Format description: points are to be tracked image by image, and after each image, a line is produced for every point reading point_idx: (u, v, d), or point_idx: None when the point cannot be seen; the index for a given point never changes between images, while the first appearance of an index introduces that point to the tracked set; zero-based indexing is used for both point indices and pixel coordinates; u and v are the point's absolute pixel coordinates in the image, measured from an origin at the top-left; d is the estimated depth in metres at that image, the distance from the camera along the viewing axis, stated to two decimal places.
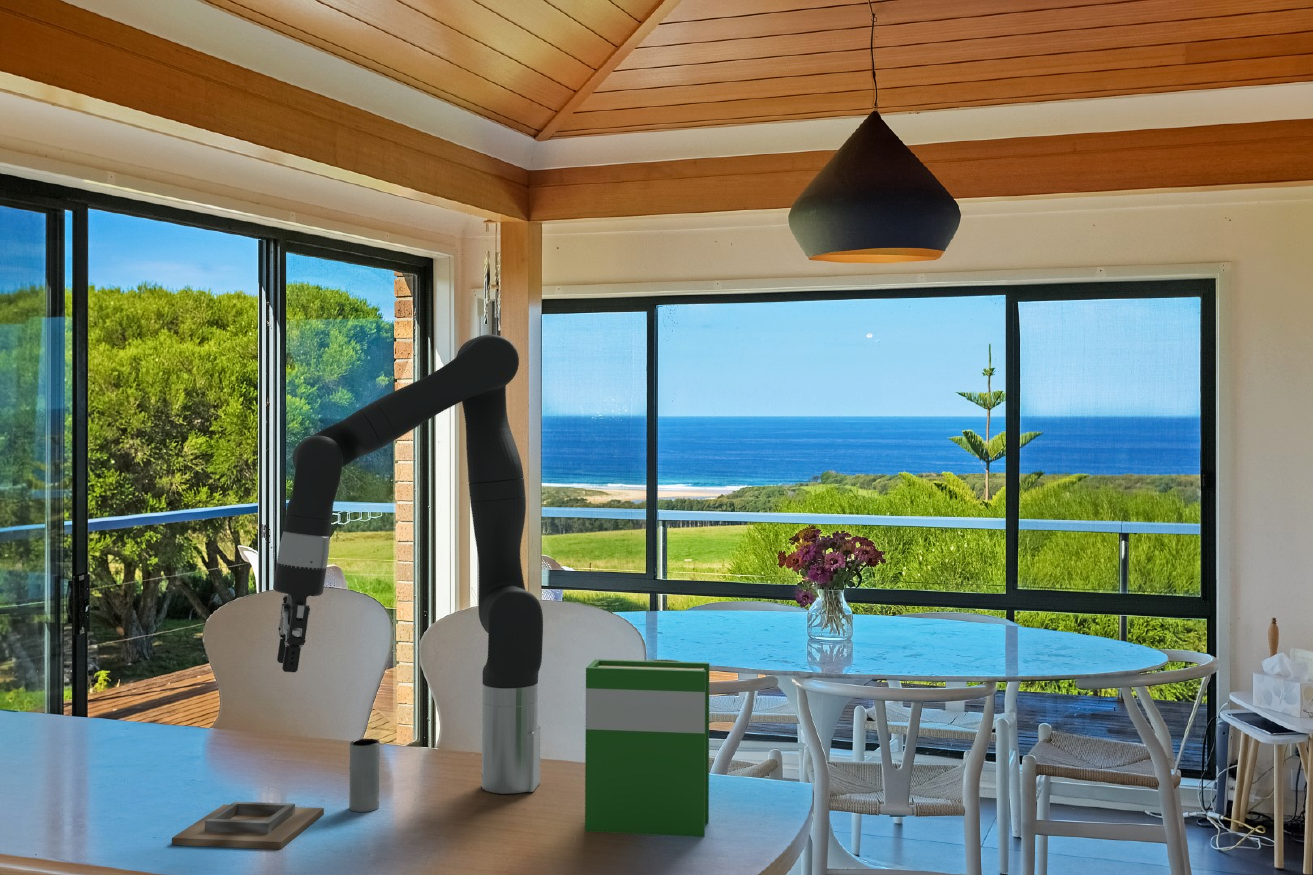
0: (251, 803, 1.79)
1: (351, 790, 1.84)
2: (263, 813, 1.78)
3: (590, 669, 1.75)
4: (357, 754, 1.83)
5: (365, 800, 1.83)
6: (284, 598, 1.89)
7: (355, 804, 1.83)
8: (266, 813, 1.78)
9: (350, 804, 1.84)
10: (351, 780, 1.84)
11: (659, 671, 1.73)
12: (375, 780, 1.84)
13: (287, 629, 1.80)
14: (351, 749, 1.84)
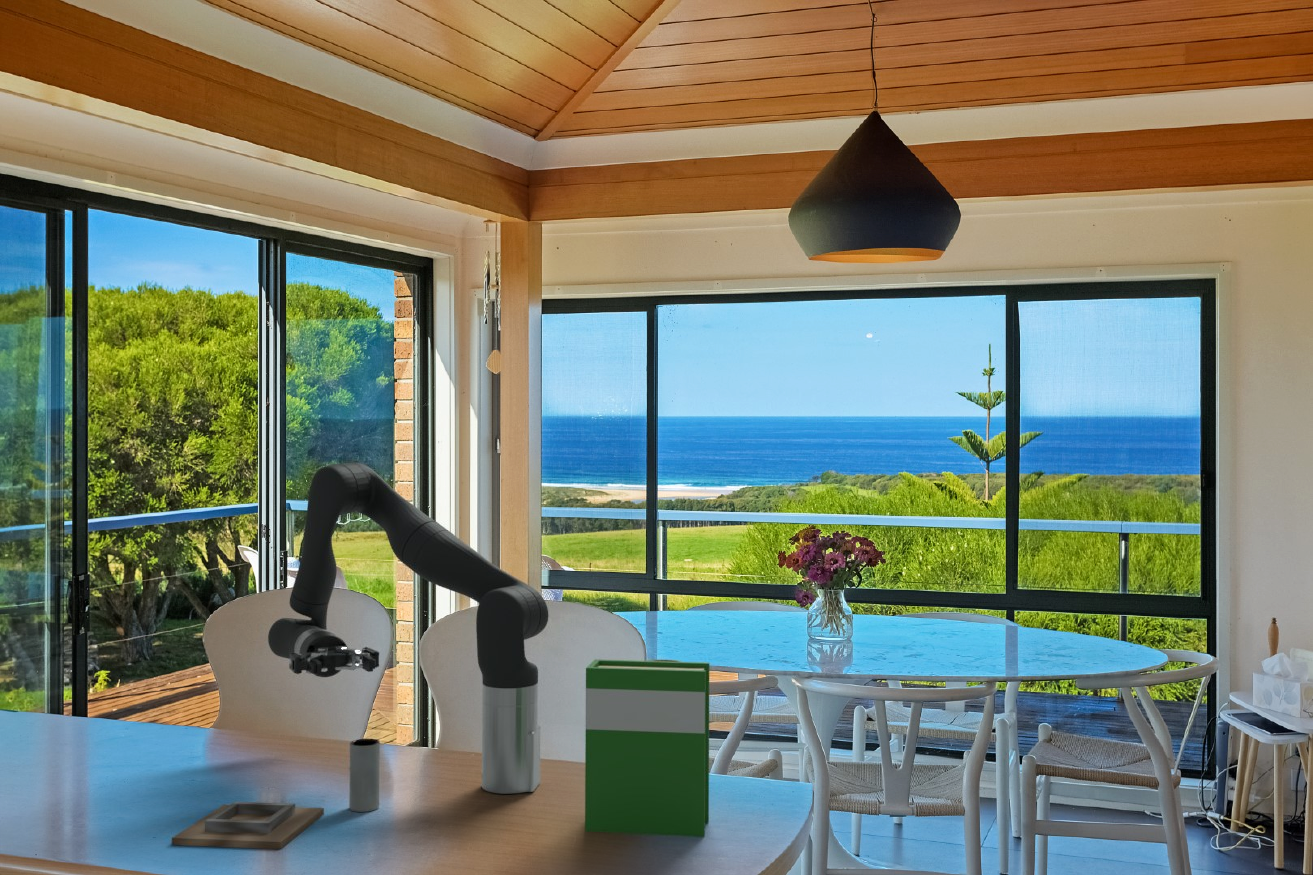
0: (251, 803, 1.79)
1: (351, 790, 1.84)
2: (263, 813, 1.78)
3: (590, 669, 1.75)
4: (357, 754, 1.83)
5: (365, 800, 1.83)
6: None
7: (355, 804, 1.83)
8: (266, 813, 1.78)
9: (350, 804, 1.84)
10: (351, 780, 1.84)
11: (659, 671, 1.73)
12: (375, 780, 1.84)
13: None
14: (351, 749, 1.84)
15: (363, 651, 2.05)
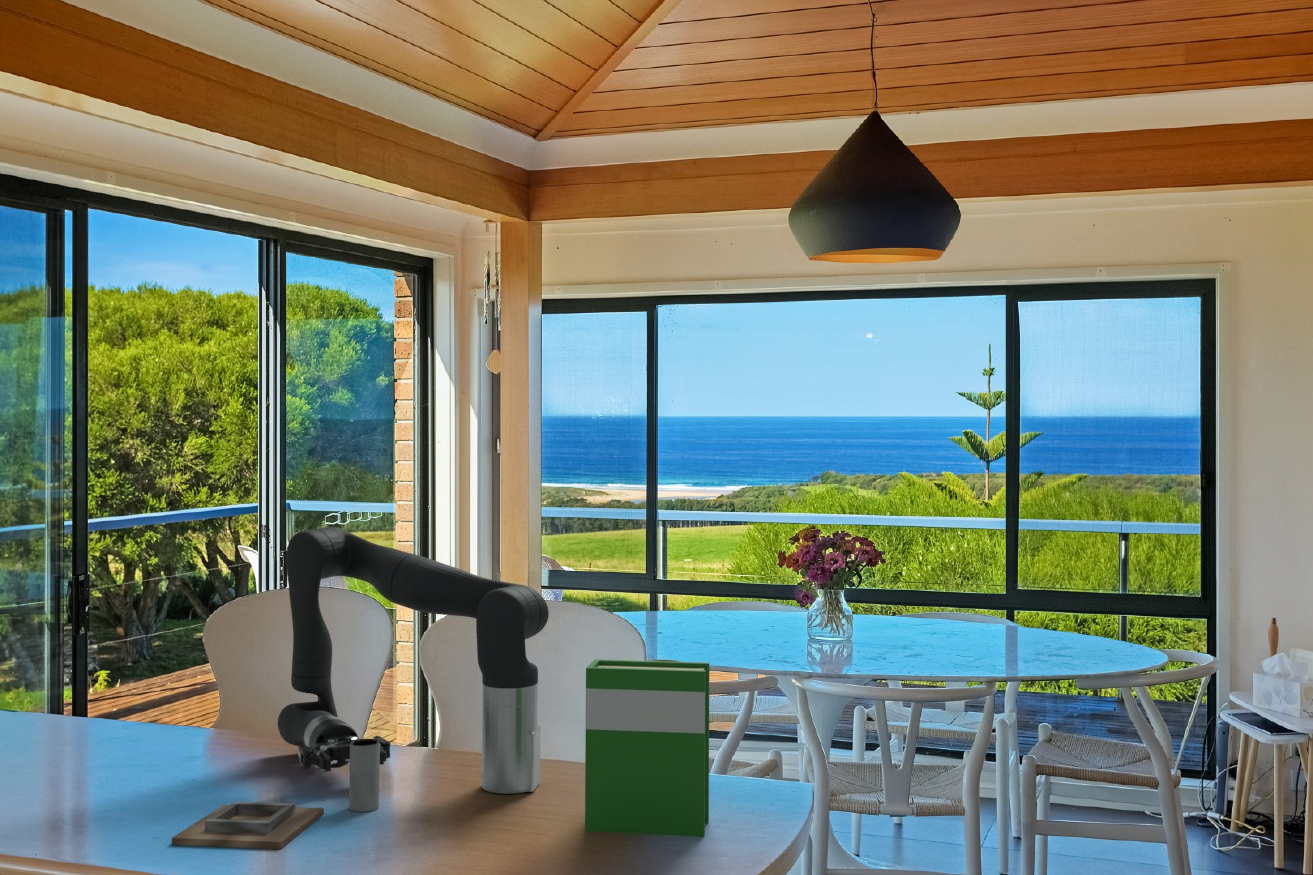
0: (251, 803, 1.79)
1: (351, 790, 1.84)
2: (263, 813, 1.78)
3: (590, 669, 1.75)
4: (357, 754, 1.83)
5: (365, 800, 1.83)
6: None
7: (355, 804, 1.83)
8: (266, 813, 1.78)
9: (350, 804, 1.84)
10: (351, 780, 1.84)
11: (659, 671, 1.73)
12: (375, 780, 1.84)
13: None
14: (351, 749, 1.84)
15: None
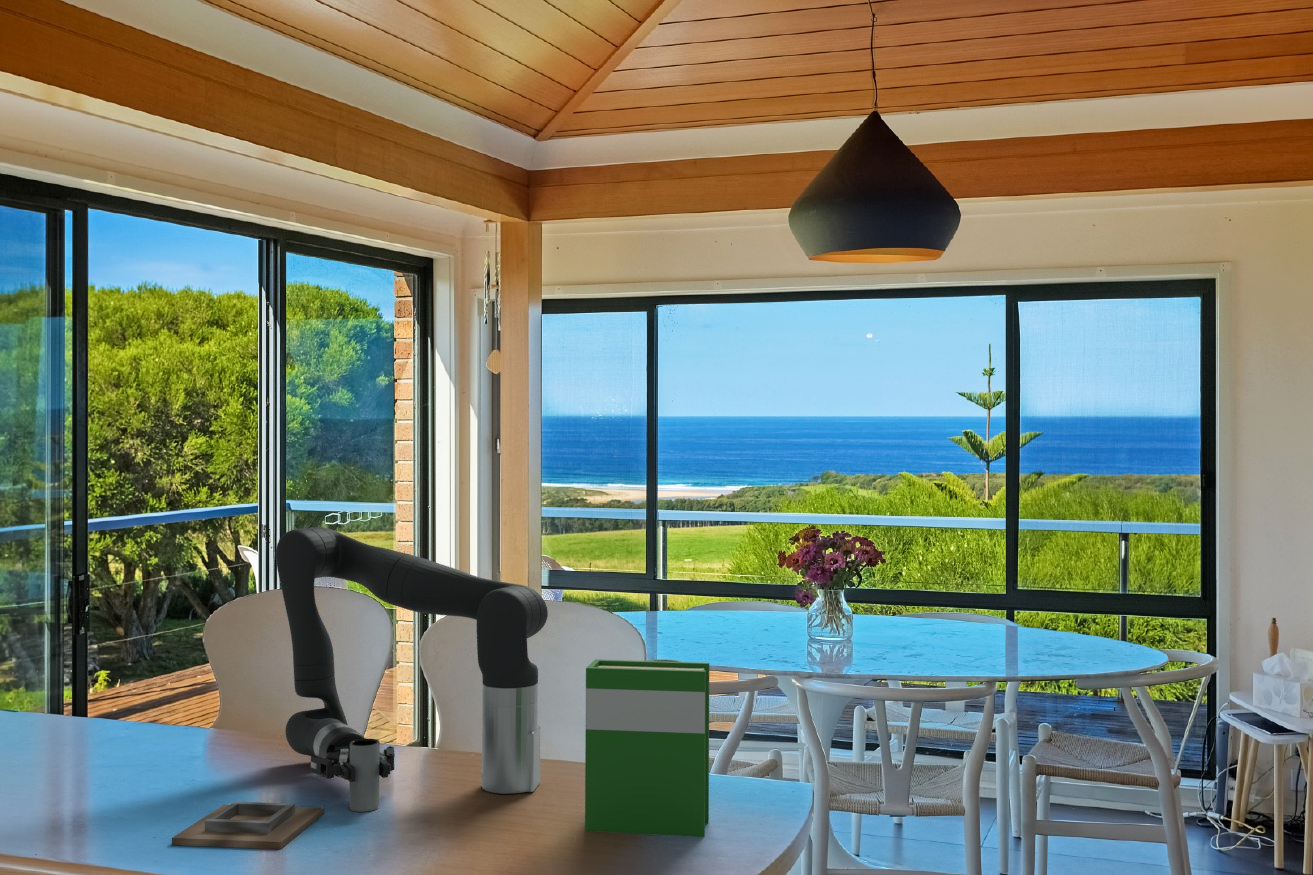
0: (251, 803, 1.79)
1: (351, 790, 1.84)
2: (263, 813, 1.78)
3: (590, 669, 1.75)
4: (357, 754, 1.83)
5: (365, 800, 1.83)
6: None
7: (355, 804, 1.83)
8: (266, 813, 1.78)
9: (350, 804, 1.84)
10: None
11: (659, 671, 1.73)
12: (375, 780, 1.84)
13: None
14: (351, 749, 1.84)
15: (384, 751, 1.93)
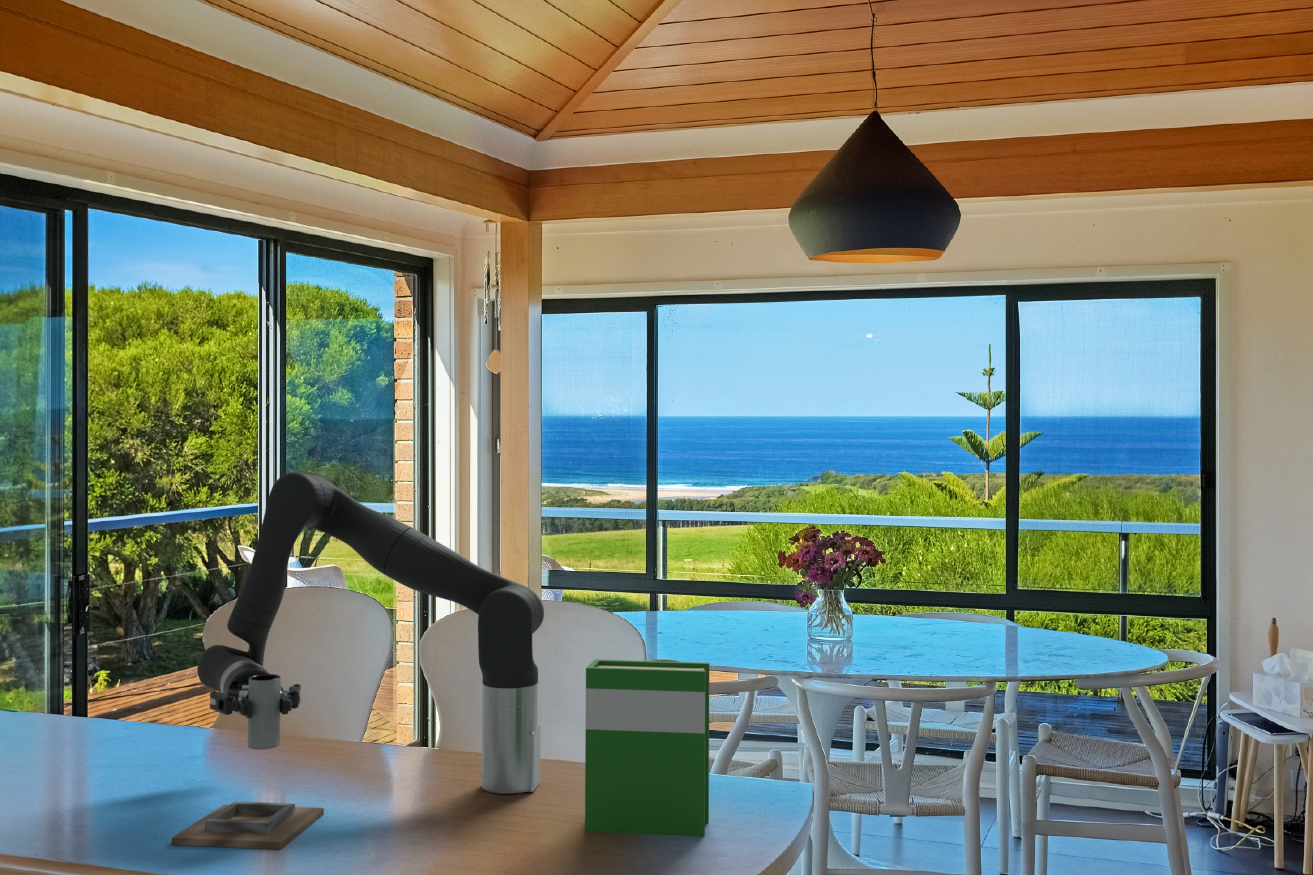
0: (251, 803, 1.79)
1: (249, 727, 1.75)
2: (263, 813, 1.78)
3: (590, 669, 1.75)
4: (255, 689, 1.74)
5: (263, 737, 1.74)
6: None
7: (253, 741, 1.75)
8: (266, 813, 1.78)
9: (248, 741, 1.75)
10: None
11: (659, 671, 1.73)
12: (274, 717, 1.75)
13: None
14: (249, 684, 1.75)
15: (290, 689, 1.84)
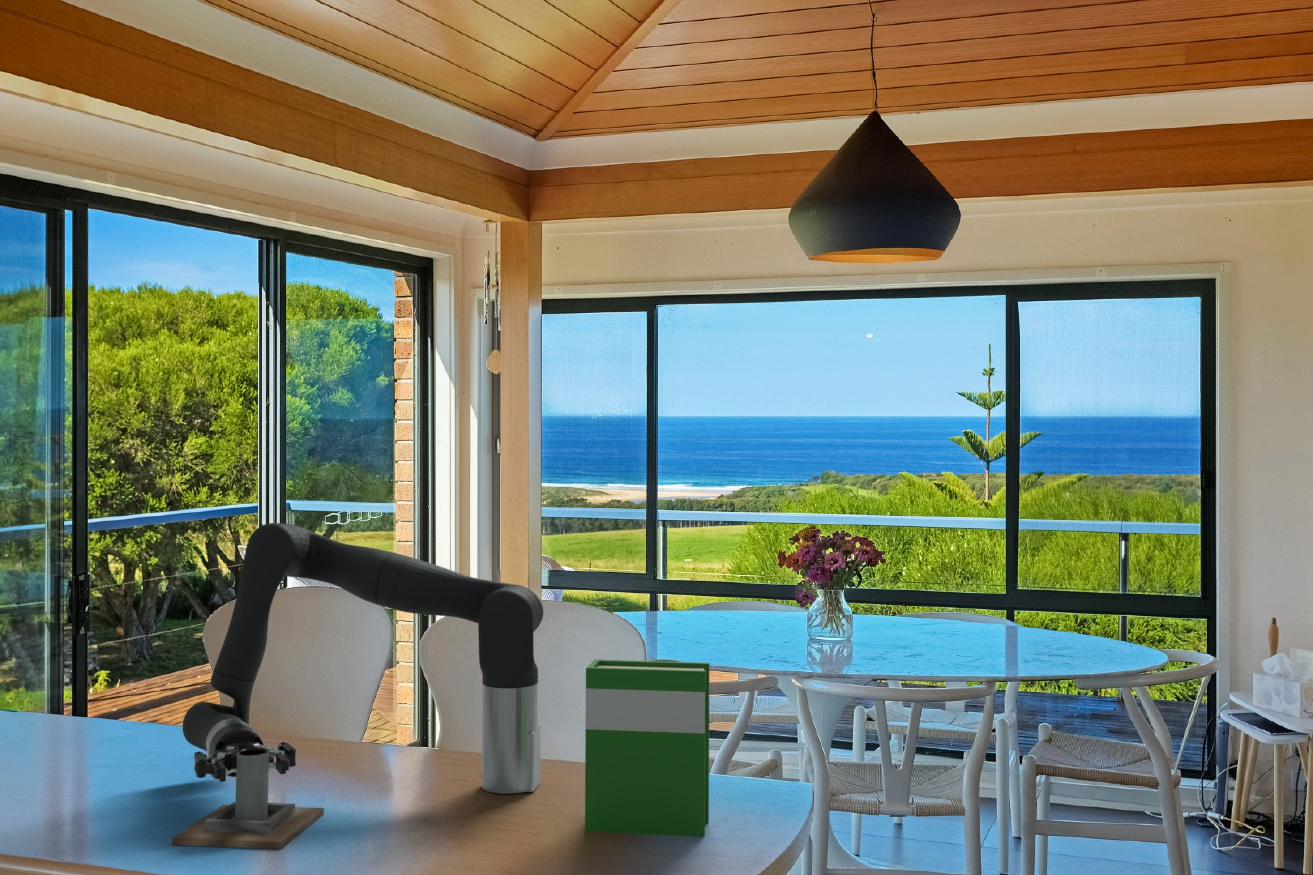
0: None
1: (236, 802, 1.73)
2: None
3: (590, 669, 1.75)
4: (243, 764, 1.73)
5: (250, 813, 1.73)
6: None
7: (240, 817, 1.73)
8: None
9: (235, 817, 1.74)
10: (237, 792, 1.73)
11: (659, 671, 1.73)
12: (262, 792, 1.74)
13: None
14: (237, 759, 1.74)
15: (279, 747, 1.83)
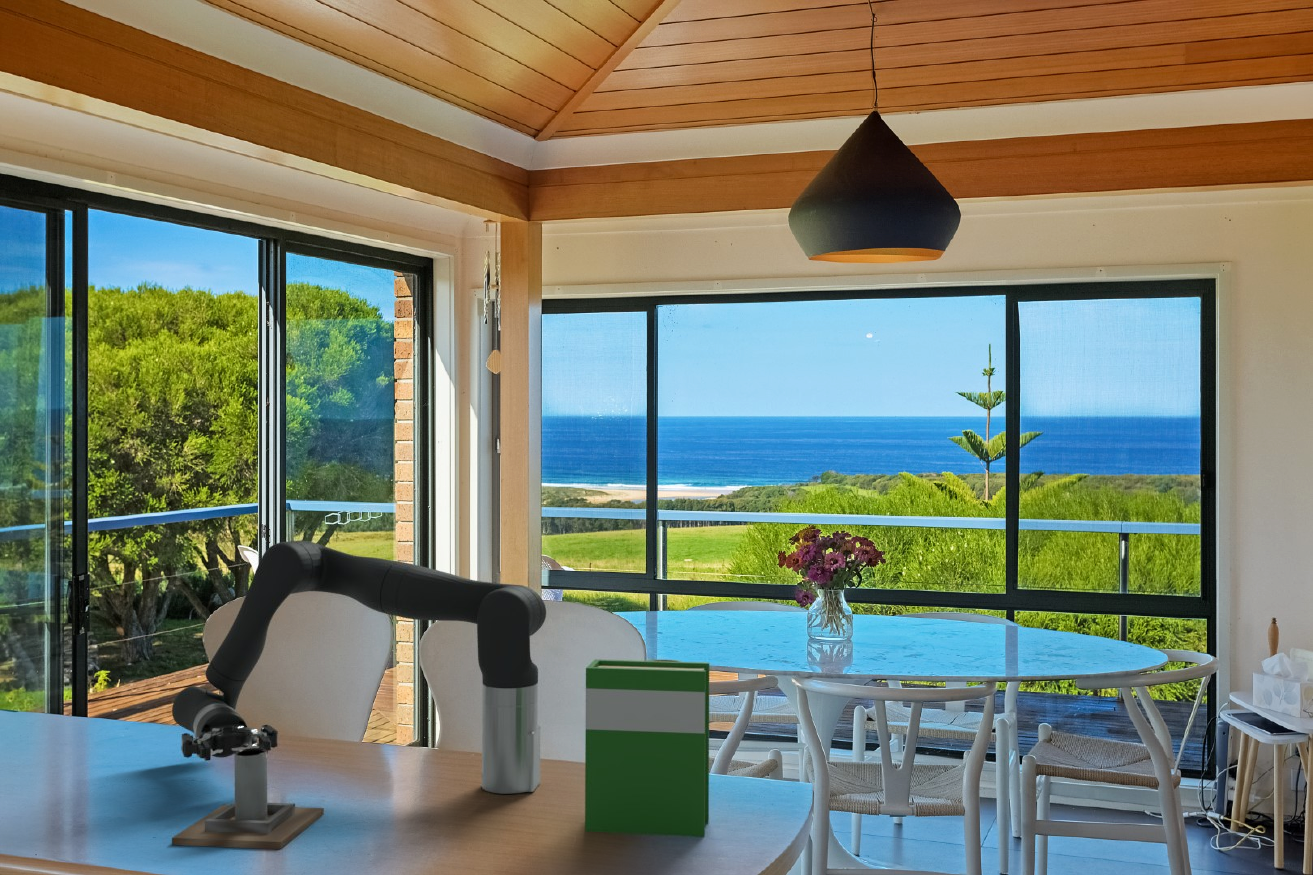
0: None
1: (236, 803, 1.73)
2: None
3: (590, 669, 1.75)
4: (241, 765, 1.73)
5: (249, 813, 1.73)
6: None
7: (239, 818, 1.73)
8: None
9: (235, 818, 1.74)
10: (235, 792, 1.73)
11: (659, 671, 1.73)
12: (261, 792, 1.74)
13: None
14: (235, 759, 1.74)
15: (262, 729, 1.95)
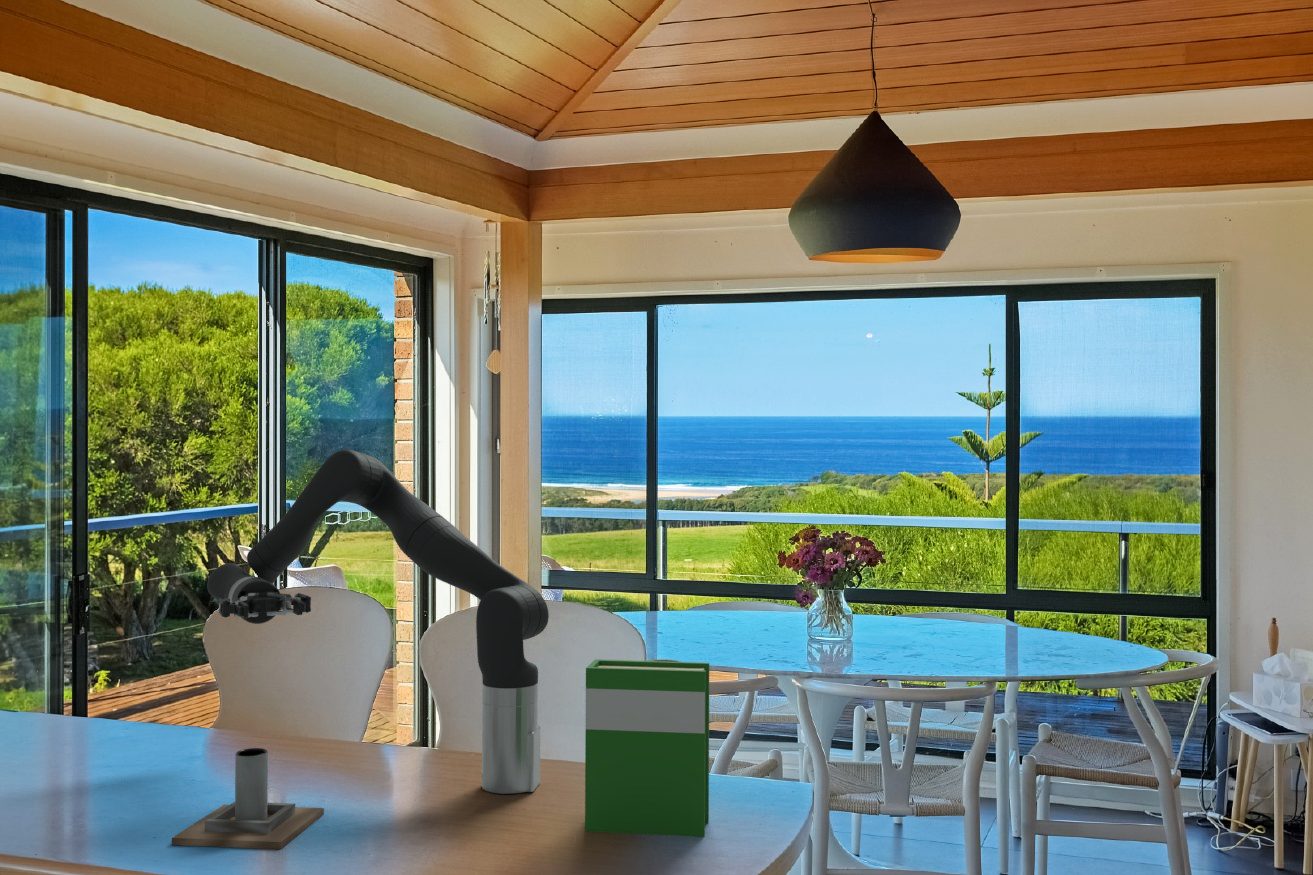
0: None
1: (236, 803, 1.73)
2: None
3: (590, 669, 1.75)
4: (241, 765, 1.73)
5: (249, 813, 1.73)
6: None
7: (239, 818, 1.73)
8: None
9: (235, 817, 1.74)
10: (236, 792, 1.73)
11: (659, 671, 1.73)
12: (261, 793, 1.74)
13: None
14: (236, 759, 1.73)
15: (295, 597, 2.02)
